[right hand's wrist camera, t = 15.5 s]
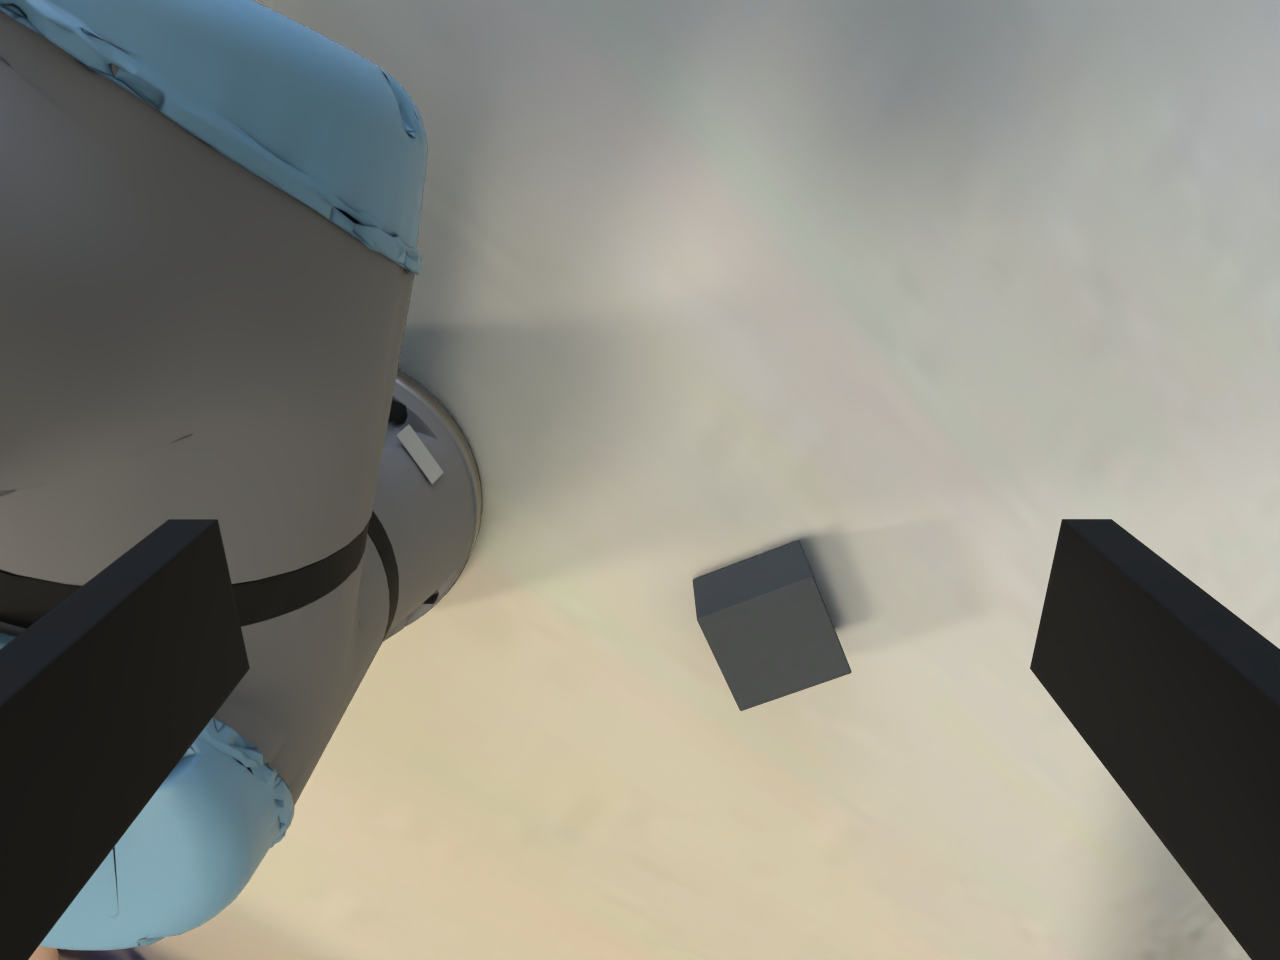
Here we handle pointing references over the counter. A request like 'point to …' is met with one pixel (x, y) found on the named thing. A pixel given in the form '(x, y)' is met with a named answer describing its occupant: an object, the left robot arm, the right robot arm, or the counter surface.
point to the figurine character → (45, 954)
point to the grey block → (768, 626)
